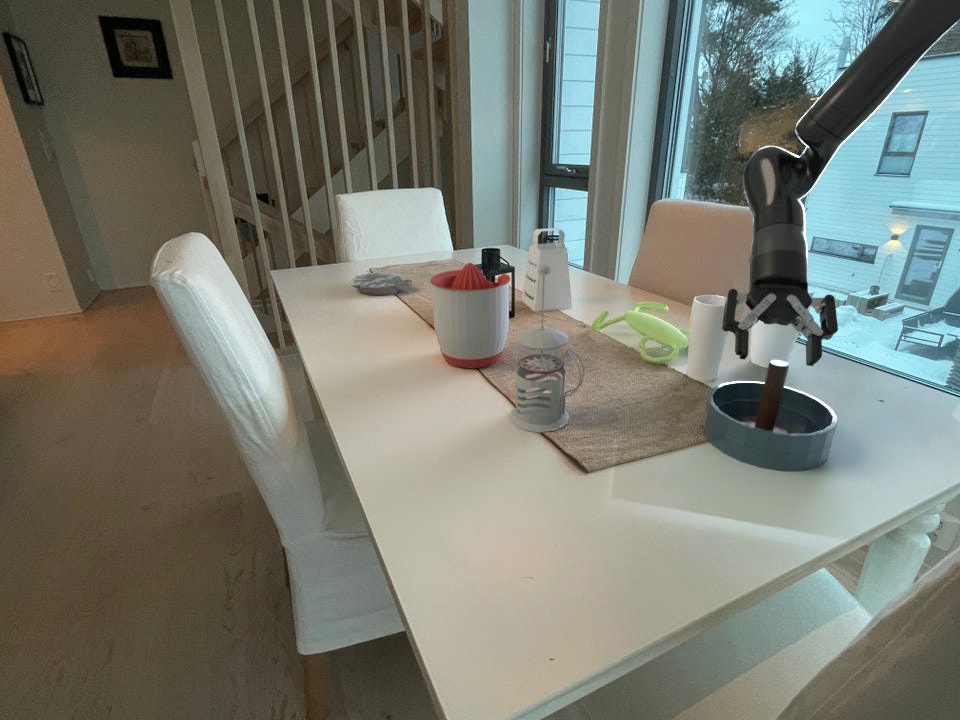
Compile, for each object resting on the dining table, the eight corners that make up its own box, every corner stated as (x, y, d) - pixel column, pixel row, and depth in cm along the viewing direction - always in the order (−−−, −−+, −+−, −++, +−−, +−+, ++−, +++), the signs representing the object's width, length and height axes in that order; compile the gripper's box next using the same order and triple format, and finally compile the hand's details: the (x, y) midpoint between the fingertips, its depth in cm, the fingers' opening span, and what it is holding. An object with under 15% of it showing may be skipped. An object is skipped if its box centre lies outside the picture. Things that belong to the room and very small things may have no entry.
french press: (523, 397, 89) (525, 255, 79) (588, 412, 84) (599, 261, 74) (499, 423, 81) (498, 269, 72) (569, 441, 76) (578, 277, 66)
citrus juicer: (529, 352, 108) (531, 258, 100) (477, 381, 96) (474, 276, 88) (473, 337, 117) (471, 249, 110) (419, 361, 105) (412, 265, 97)
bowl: (810, 422, 80) (819, 388, 78) (841, 483, 66) (854, 444, 64) (698, 408, 85) (704, 375, 82) (706, 463, 71) (713, 425, 68)
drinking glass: (683, 383, 93) (695, 304, 87) (679, 368, 99) (690, 293, 93) (723, 386, 92) (738, 306, 86) (717, 371, 98) (730, 295, 92)
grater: (521, 300, 143) (522, 227, 135) (556, 297, 145) (559, 225, 138) (535, 311, 134) (537, 234, 126) (572, 307, 136) (576, 231, 128)
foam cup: (754, 349, 107) (767, 289, 102) (802, 362, 101) (818, 298, 96) (733, 361, 102) (745, 298, 97) (782, 376, 95) (798, 309, 90)
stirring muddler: (780, 430, 77) (798, 357, 72) (789, 451, 72) (809, 374, 67) (736, 424, 79) (751, 352, 74) (742, 445, 73) (758, 369, 69)
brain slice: (337, 290, 156) (336, 281, 155) (380, 279, 168) (379, 270, 167) (378, 301, 145) (377, 291, 144) (422, 288, 157) (421, 279, 155)
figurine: (649, 316, 128) (651, 295, 126) (728, 355, 105) (733, 329, 103) (584, 326, 123) (585, 303, 121) (652, 368, 100) (655, 341, 97)
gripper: (731, 245, 76) (727, 345, 70) (842, 249, 72) (847, 355, 66) (722, 272, 83) (717, 365, 77) (822, 277, 78) (825, 375, 73)
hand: (777, 360), depth 72 cm, fingers open, 8 cm apart
